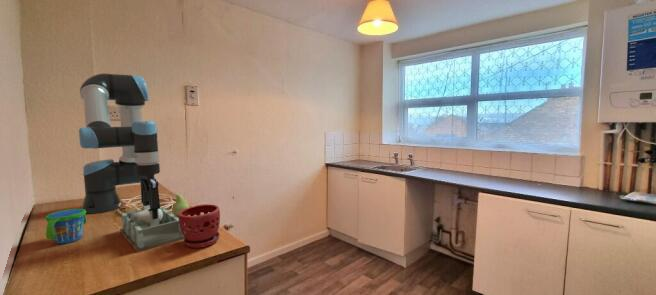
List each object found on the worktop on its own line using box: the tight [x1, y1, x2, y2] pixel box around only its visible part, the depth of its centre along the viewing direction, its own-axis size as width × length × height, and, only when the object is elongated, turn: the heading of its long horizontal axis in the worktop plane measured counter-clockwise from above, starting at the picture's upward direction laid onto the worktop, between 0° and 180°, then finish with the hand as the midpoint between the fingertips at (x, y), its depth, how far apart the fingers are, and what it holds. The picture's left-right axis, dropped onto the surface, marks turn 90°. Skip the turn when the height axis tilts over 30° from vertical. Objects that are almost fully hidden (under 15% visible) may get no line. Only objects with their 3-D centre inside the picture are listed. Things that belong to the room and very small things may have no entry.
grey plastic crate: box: [119, 205, 185, 253], centre depth 108 cm, size 25×15×7 cm, turn 46°
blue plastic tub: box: [44, 208, 88, 245], centre depth 104 cm, size 16×10×10 cm
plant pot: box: [177, 203, 221, 248], centre depth 101 cm, size 13×13×12 cm
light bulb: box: [129, 208, 163, 225], centre depth 106 cm, size 7×7×11 cm
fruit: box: [169, 190, 190, 218], centre depth 128 cm, size 7×8×12 cm
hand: (152, 224), depth 108 cm, fingers closed on light bulb, 6 cm apart
